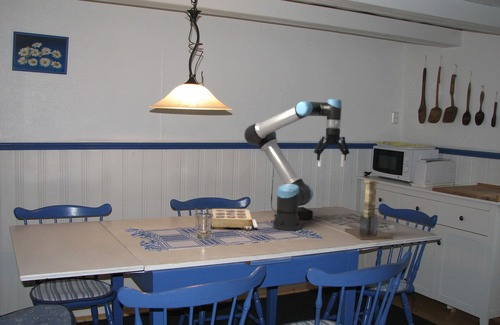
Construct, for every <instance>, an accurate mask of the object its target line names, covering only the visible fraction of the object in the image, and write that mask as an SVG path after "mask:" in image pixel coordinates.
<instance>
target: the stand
mask: <svg viewBox="0 0 500 325" xmlns="http://www.w3.org/2000/svg"><path fill="white" fill-rule="evenodd" d="M371 214H372V215H374V216H373V217H372V218H367V217H365V216H364V214H362V215H361V214H360V217H359V227H357V228H356V227H355V228H351V227H350V228H344V232H345V233H348V234H349V235H351V236H353V237H355V238H356V239H359V240H361V241H369V240H370V241H371V240H388V239H389V240H390V239H391V238H392V239H393V235H392V234H390V233H388V232H385V231H382V230H381V229H378V220H379V218H378V214H377V213H376V212H375V213H371ZM392 239H391V240H392Z"/></svg>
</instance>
